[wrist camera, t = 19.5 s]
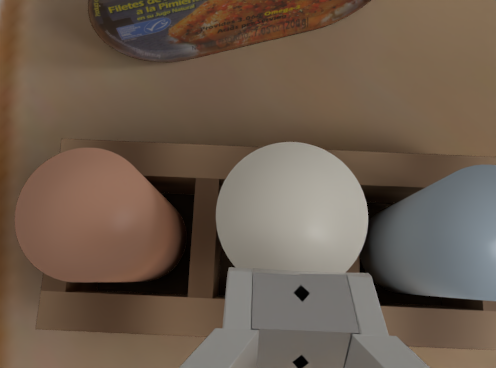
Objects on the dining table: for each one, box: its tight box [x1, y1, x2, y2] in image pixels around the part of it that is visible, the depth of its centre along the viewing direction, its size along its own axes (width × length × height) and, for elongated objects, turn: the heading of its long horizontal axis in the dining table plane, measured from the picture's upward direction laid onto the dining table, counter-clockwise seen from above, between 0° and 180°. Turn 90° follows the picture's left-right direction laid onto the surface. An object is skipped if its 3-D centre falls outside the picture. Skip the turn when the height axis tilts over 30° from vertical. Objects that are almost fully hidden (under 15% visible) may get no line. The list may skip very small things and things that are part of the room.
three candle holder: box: [36, 139, 496, 350], centre depth 21 cm, size 19×8×4 cm, turn 88°
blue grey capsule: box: [359, 165, 496, 301], centre depth 17 cm, size 4×4×8 cm
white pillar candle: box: [216, 142, 368, 274], centre depth 16 cm, size 4×4×8 cm
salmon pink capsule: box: [15, 148, 187, 282], centre depth 17 cm, size 4×4×8 cm
